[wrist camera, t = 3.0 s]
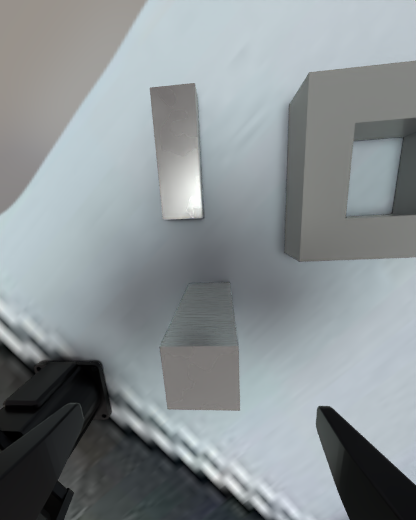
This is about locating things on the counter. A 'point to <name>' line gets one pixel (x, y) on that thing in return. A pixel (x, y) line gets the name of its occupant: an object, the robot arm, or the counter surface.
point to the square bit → (202, 351)
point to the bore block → (349, 163)
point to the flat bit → (178, 150)
